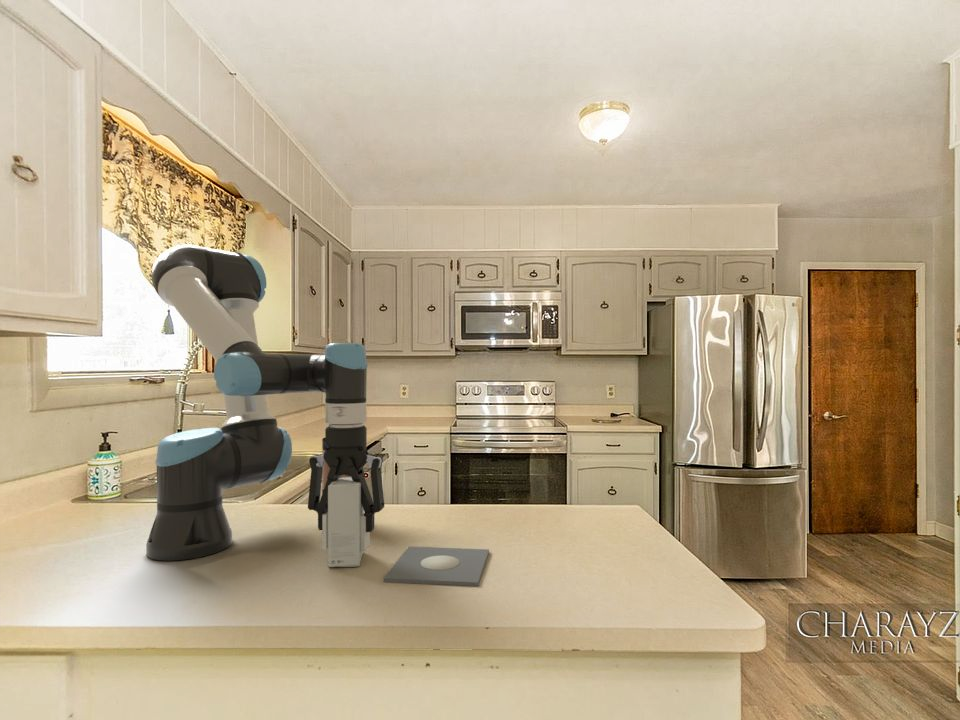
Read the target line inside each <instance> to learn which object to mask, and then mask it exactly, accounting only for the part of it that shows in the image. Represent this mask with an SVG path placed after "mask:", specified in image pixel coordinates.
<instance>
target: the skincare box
mask: <svg viewBox="0 0 960 720" xmlns="http://www.w3.org/2000/svg"><path fill="white" fill-rule="evenodd" d="M364 513H365V512H364V509H363V506H362V503H361V483H359V482H354V481H353V480H352V477H344V478H338V480H336V481H334V482H331V484H330V485H329V486H328V549H327V567H329V568H335V567H344V568H352V567H353V568H354V567H360V565H361V559H362V557H363V554H364V553H365V552H364V551H361V515H363V514H364Z"/></svg>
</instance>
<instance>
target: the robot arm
mask: <svg viewBox="0 0 960 720" xmlns="http://www.w3.org/2000/svg"><path fill="white" fill-rule="evenodd" d="M151 282H152V286H153V288H154V290H155V292H156V293H157V295H158V297H160V299H161V300H162V301H163V302H164V303H165V304H168V305H169V306H171V307H174V309H175V310H176V311H177V312H178V313H179V315H180V316H181V318H182V319H183V320H184V322H185V323H186V324H187V325H188V326H189V328H190V329H191V330H192V332H193V333H194V334H195V336H196V337H197V338H198V340H199V341H200V342H201V344H202V345H203V346H204V348H205V349H206V350H207V351H208V353H209V354H210V356H211V357H212V359H214V360H215V364H214V368H213V377H214V378H213V379H214V381H215V386H216V388H217V389H218V391H219V392H220V393H221V394H223V399H224V407H225V412H226V413H225V414H226V420H225V421H224V422H223V424H222V425H221V426H220V427H219V428H218V427H203V428H199V429H197V428H195V429H189V430H184V431H179V432H176V433H173V434H170V435H167V436H165V437H164V438H162V439H161V440H160V441H159V443H158V444H157V449H156V450H157V452H156V459H155V465H156V514H155V515H156V516H155V517H154V521H153V523H152V526H151V529H150V532H149V537H148V539H147V541H146V551H145V553H146V556H147V558H148V559H151V560H157V561H163V562H164V561H166V562H167V561H185V560H191V559H197V558H201V557H205V556H209V555H213V554H215V553H216V554H217V553H218V552H221V551H223V550H225V549H227V548H229V547H230V546H231V545H232V543H233V532H232V528H231V527H230V523H229V520H228V517H227V514H226V512H225V509H224V505H223V492H224V491H223V490H227V489H232V488H238V487H243V486H247V485H248V486H249V485H253V484H261V483H266V482H268V481H271V480H276V479H278V478H279V477H281V476H282V475H283V474H284V473H285V472H286V471H287V469H288V467H289V465H290V463H291V459H292V456H293V455H292V454H293V443H292V439H291V436H290V434H289V433H288V431H287V430H286V429H285V428H283V427H281V426H278V420H277V417H275V416H274V415H272V414H271V413H270V412H269V410H268V402H267V398H266V397H267V395H278V394H279V395H283V394H303V393H305V394H306V393H325V400H324V401H325V424H326V425H328V426H326V428H325V430H324V431H325V437H324V438H325V445H326V450H325V452H324V455H318V454H317V455H314V456H312V457H310V458H309V459H308V461H309V462H308V463H309V465H310V469H311V471H310V479H309V480H310V481H309V490H308V501H307V509H308V510H309V511H312V510H313V512H316V513H317V529H318V530H319V531H321V532H322V539H321V540H322V541H321V542H322V549H321V550H322V551H326V550H327V551H328V511H327V510H328V486H329V485H330V484H331V482H334V481H336V480H338V478H339V477H340V476H341V475H347V476H351V477H352V480H353V481H354V482H359V483H361V503H362V506H363V509H364V514H363V515H361V551H364V553H365V552H366V551H367V550H368V549H369V548H370V547H371V546H370V544H371V541H370V539H371V538H370V537H371V535H370V533H372V532H373V531H374V529H375V514H376V513H379V512H381V511H382V510H383V509H384V508H385V497H384V487H383V478H382V477H383V476H382V466H383V461H384V459H383V457H382V456H381V455H380V456H379V455H378V456H373V455H370V454H369V452H368V449H367V441H368V440H367V439H368V437H367V435H368V434H367V428H368V427H367V426H366V425H364V424H366V423H367V418H368V417H367V414H368V412H367V373H368V372H367V369H368V363H367V349H366V347H365V345H364V344H362V343H359V342H358V343H357V342H355V343H354V342H331V343H328V344H326V346H325V349H324V354H319V353H318V354H317V353H315V354H312V353H311V354H310V353H304V354H303V353H299V354H298V353H266V352H264V351H263V350H262V348H261V347H260V346H259V343H258V336H257V331H256V330H257V329H256V323H255V316H254V313H255V312H256V310H258V308H259V307H260V302H261V301H262V300H263V299H264V297H265V294H266V290H265V289H267V277H266V273H265V270H264V268H263V266H262V265H261V263H260V262H259V261H258V260H257V259H255V258H254V257H253V256H251V255H246V254H243V253H240V252H238V251H227V250H221V249H214V248H209V247H205V246H204V247H203V246H198V245H194V244H181V245H175V246H172V247H170V248H169V249H167V250H165V251H164V252H162V253H161V254H159V256H158V257H157V258H156V260H155V262H154V263H153V265H152V269H151ZM324 461H325V462H326V463H327V464H328V466H329V467H330V470H329V473H328V476H327V478H328V479H327V482H326V485H325V488H324V491H323V494H321V493H322V472H323V465H324ZM366 463H368V468H370V481H371V491H372V492H371V491H370V488H369V486H368V484H367V483H368V482H367V480H366V477H365V475H366V474H365V470H364V468H363V467H364V466H365V464H366ZM371 493H372V495H371Z"/></svg>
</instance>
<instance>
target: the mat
mask: <svg viewBox="0 0 960 720" xmlns="http://www.w3.org/2000/svg"><path fill="white" fill-rule="evenodd" d="M489 554H490V549H487V548H486V549H483V548H457V547H432V546H408V547H406V549H405V551H404V552H403V553H402V554H401V555H400V557H399V558H398V560H397V561H395V562H394V564H393V566H392V567H391V569H389V570H388V572H387V573H386V574H385V576H383V583H402V584H403V583H404V584H425V585H443V586H444V585H445V586H448V585H449V586H462V587H463V586H467V587H469V586H470V587H479V583H480V580H481V579H482V575H483V572H484V569H485V566H486V563H487V560H488V558H489Z"/></svg>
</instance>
